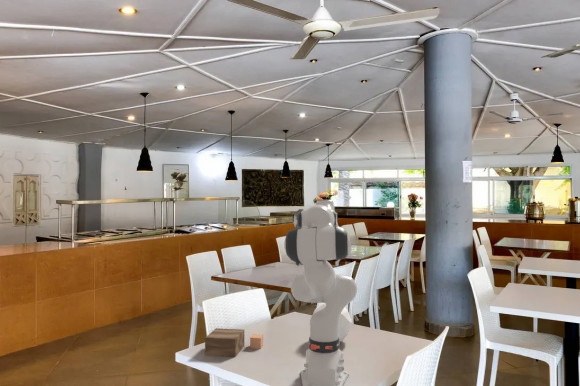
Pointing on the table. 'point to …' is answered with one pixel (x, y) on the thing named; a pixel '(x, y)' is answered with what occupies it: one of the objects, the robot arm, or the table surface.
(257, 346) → the cube
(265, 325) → the table surface
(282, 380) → the table surface
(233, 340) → the walnut box
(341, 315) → the polyhedron
